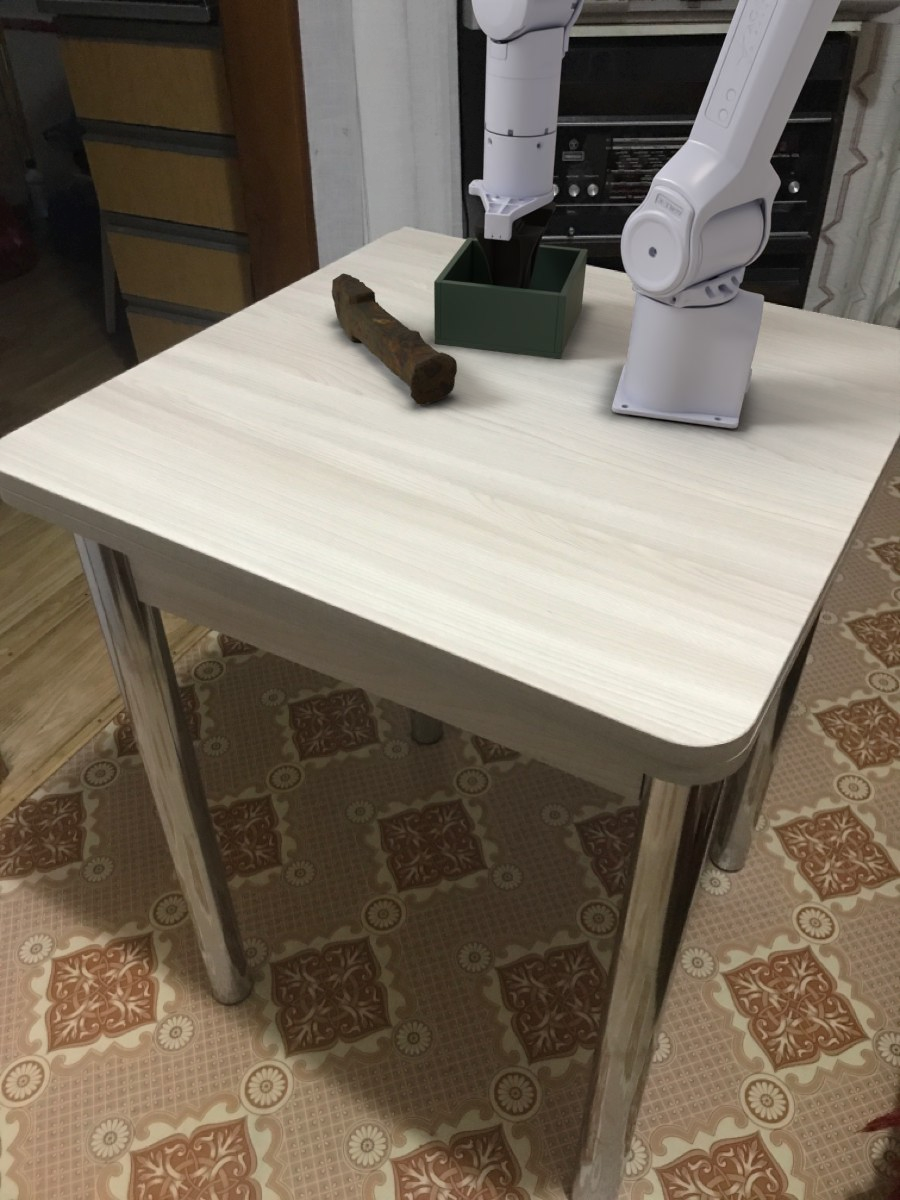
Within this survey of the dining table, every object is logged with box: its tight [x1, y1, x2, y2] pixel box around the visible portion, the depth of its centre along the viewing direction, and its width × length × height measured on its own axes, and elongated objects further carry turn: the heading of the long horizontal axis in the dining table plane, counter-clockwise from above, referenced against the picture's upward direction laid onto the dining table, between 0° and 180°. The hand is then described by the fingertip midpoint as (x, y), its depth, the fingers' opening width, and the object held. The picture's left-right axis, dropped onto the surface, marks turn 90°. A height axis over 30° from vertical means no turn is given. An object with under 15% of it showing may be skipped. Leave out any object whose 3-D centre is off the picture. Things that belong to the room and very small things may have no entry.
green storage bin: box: [433, 237, 589, 360], centre depth 81 cm, size 11×11×6 cm
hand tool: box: [331, 273, 458, 406], centre depth 76 cm, size 19×4×5 cm, turn 27°
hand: (512, 295), depth 81 cm, fingers closed on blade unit, 3 cm apart
